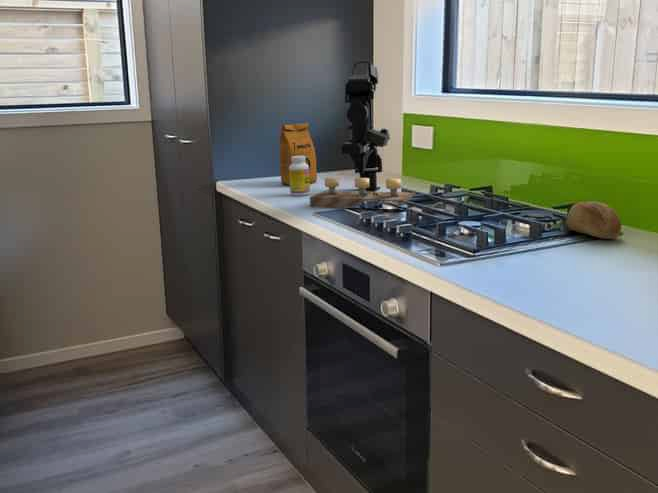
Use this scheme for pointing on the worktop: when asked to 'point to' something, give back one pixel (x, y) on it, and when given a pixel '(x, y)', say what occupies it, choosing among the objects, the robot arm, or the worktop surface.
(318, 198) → the mount board
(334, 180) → the button
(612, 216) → the bread roll
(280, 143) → the coffee package
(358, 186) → the button centre
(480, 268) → the worktop surface
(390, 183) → the button
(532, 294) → the worktop surface
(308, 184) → the supplement bottle
